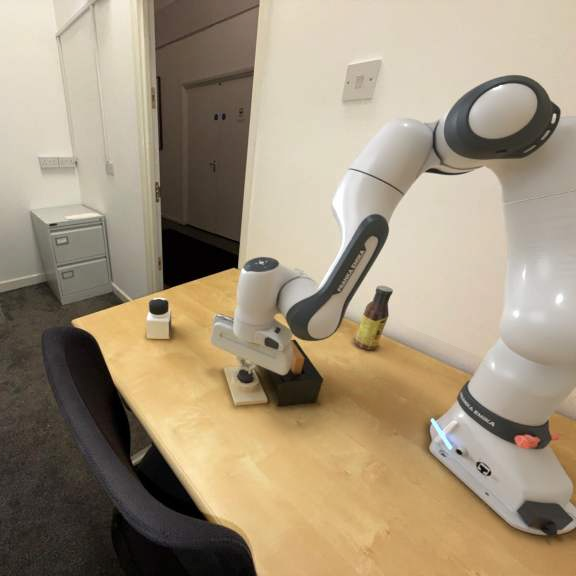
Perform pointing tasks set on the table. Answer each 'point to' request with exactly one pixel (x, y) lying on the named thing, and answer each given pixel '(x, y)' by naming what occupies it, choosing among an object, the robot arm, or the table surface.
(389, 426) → the table surface
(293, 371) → the toast
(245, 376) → the button
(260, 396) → the control block
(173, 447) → the table surface
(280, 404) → the toaster
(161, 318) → the medicine bottle
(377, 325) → the sauce bottle
